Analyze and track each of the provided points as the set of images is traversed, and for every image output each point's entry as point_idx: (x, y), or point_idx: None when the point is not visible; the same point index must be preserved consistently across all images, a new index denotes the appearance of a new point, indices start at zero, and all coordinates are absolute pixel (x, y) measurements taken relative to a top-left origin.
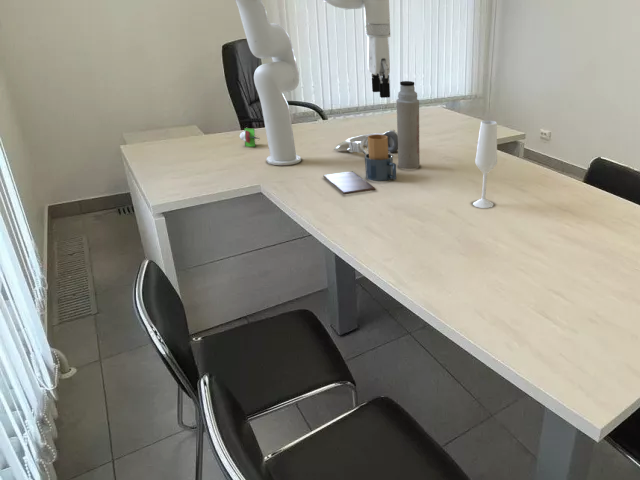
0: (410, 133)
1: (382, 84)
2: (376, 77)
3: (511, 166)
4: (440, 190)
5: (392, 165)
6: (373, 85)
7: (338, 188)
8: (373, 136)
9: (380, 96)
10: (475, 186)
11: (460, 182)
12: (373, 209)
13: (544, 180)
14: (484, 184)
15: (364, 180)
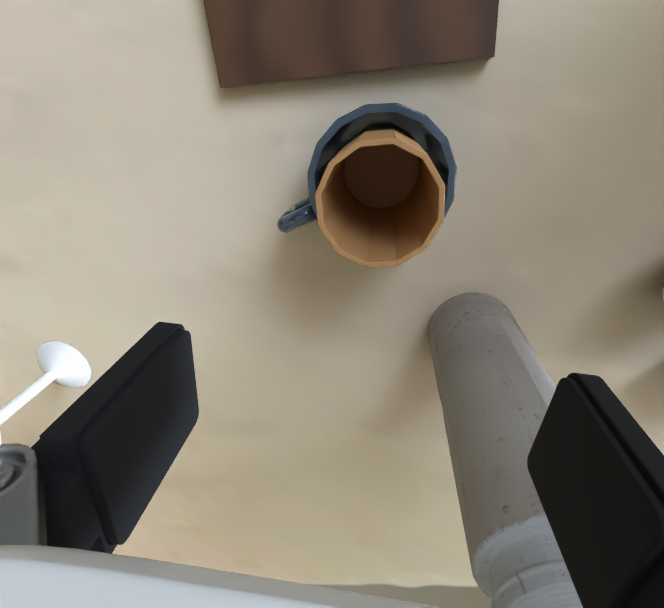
0: (447, 410)
1: (41, 453)
2: (654, 604)
3: (344, 551)
4: (192, 317)
5: (285, 215)
6: (599, 438)
7: None
8: (437, 196)
9: (156, 325)
10: (208, 413)
11: (252, 397)
12: (18, 3)
13: (219, 547)
14: (14, 398)
15: (328, 71)
